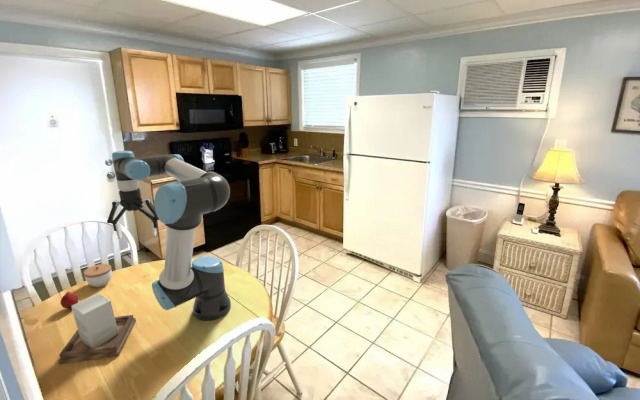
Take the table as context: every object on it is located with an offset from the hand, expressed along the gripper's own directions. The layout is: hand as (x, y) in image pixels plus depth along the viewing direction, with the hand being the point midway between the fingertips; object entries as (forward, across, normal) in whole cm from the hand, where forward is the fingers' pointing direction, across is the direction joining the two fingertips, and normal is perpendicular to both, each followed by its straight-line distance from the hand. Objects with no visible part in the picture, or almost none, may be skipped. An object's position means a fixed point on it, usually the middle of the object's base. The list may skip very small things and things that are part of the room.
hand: (137, 236), depth 134 cm
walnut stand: (+29, +8, +29) cm, 41 cm away
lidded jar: (+28, +24, -12) cm, 39 cm away
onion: (+28, +28, +6) cm, 40 cm away
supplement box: (+27, +8, +28) cm, 40 cm away
